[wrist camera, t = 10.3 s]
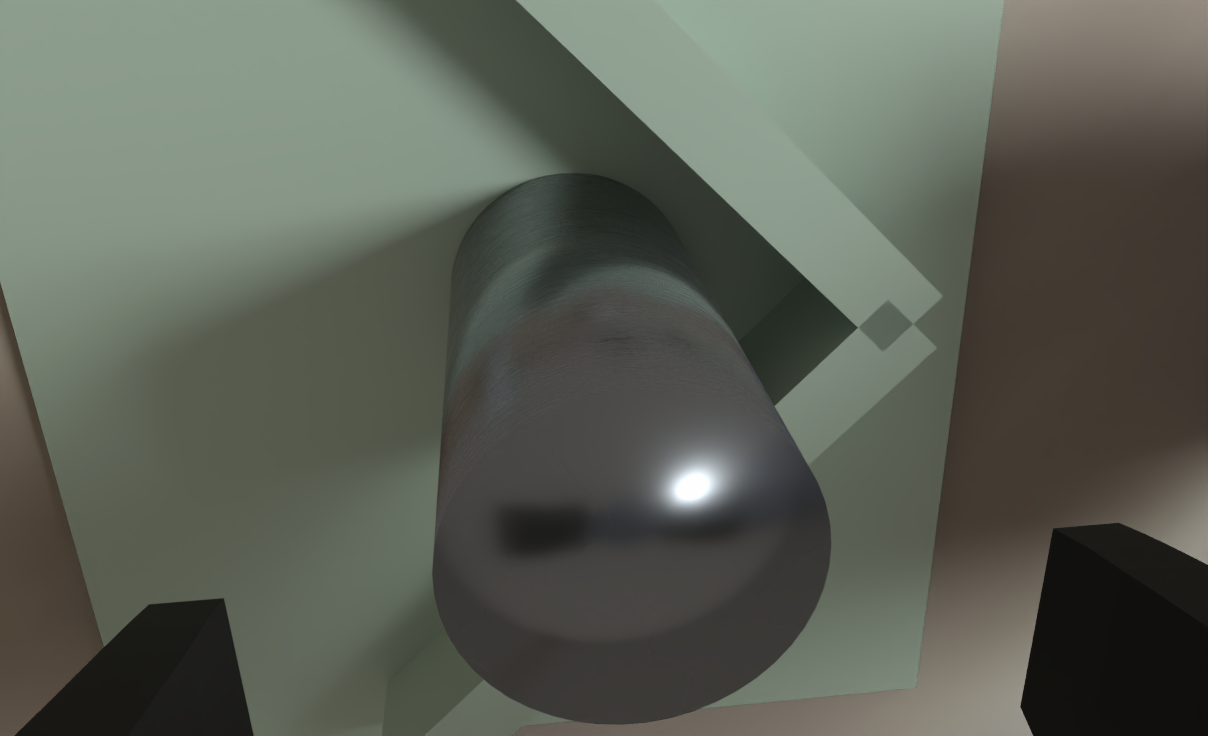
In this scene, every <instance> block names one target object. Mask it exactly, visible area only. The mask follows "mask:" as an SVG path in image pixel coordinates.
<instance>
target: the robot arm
mask: <svg viewBox="0 0 1208 736" xmlns="http://www.w3.org/2000/svg"><path fill="white" fill-rule="evenodd" d="M1021 709H1022V711H1023V714H1024V716H1025V718H1026V720H1027V723H1028V725H1029V727H1030V729H1031V732H1032V734H1033V736H1208V565H1207V564H1205V563H1203V562H1201V561H1199V560H1197V559H1195V558H1193V557H1191V556H1189V555H1187V554H1185V553H1183V552H1181V551H1179V550H1177V549H1175V548H1173V547H1171V546H1169V545H1167V544H1165V543H1163V542H1161V541H1158V540H1156V539H1154V538H1152V537H1150V536H1148V535H1146V534H1143V533H1141V532H1139V531H1136V530H1134V529H1132V528H1129V527H1127V526H1125V525H1122V524H1120V523H1113V524H1101V525H1089V526H1077V527H1065V528H1053V533H1052V538H1051V543H1050V549H1049V554H1048V560H1047V565H1046V571H1045V576H1044V582H1043V587H1042V592H1041V598H1040V603H1039V609H1038V614H1037V620H1036V625H1035V631H1034V636H1033V641H1032V647H1031V652H1030V658H1029V663H1028V669H1027V674H1026V679H1025V685H1024V690H1023V696H1022V701H1021ZM15 736H254V734H253V730H252V725H251V720H250V716H249V711H248V707H247V702H246V697H245V693H244V688H243V684H242V679H241V674H240V670H239V665H238V661H237V656H236V651H235V647H234V642H233V638H232V633H231V628H230V624H229V619H228V615H227V610H226V605H225V601H224V598H219V599H207V600H195V601H183V602H171V603H159V604H149V605H148V606H147V607H145V608H144V609H143V610H142V611H141V612H140V613H139V614H138V615H137V616H136V617H135V618H134V619H132V620H131V621H130V622H129V623H128V624H127V625H126V626H125V627H124V628H123V629H122V630H121V631H120V632H119V633H118V634H117V635H116V636H115V637H114V638H113V639H112V640H111V641H110V642H109V643H108V644H107V645H106V646H105V647H104V648H103V649H102V650H101V651H100V652H99V653H98V654H97V655H96V656H95V657H94V658H93V659H92V660H91V661H90V662H89V663H88V664H87V665H86V666H85V667H84V668H83V669H82V670H81V671H80V672H79V673H78V674H77V675H76V676H75V677H74V678H73V679H72V680H71V681H70V682H69V683H68V684H67V685H66V686H65V687H64V688H63V689H62V690H61V691H60V692H59V693H58V694H57V695H56V696H55V697H54V698H53V699H52V700H51V701H50V702H49V703H48V704H47V705H46V706H45V707H44V708H43V709H42V710H41V711H39V712H38V713H37V714H36V715H35V716H34V717H33V718H32V719H31V720H30V721H29V722H28V723H27V724H26V725H25V726H24V727H23V728H22V729H21V730H20V731H19V732H18V733H17V734H16V735H15Z"/></svg>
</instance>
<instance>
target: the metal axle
mask: <svg viewBox="0 0 1208 736" xmlns="http://www.w3.org/2000/svg"><path fill="white" fill-rule="evenodd" d="M830 555H831V528H830V520H829V515H828V511H827V506H826V502H825V499H824V497H823V494H822V492H821V489H820V487H819V484H818V482H817V480H816V478H815V476H814V475H813V473H812V471H811V469H810V468H809V466H808V464H807V462H806V461H805V459H804V457H803V455H802V453H801V452H800V450H799V448H798V446H797V445H796V443H795V441H794V439H793V438H792V436H791V434H790V432H789V431H788V429H787V427H786V425H785V424H784V422H783V420H782V418H781V417H780V415H779V413H778V411H777V410H776V408H775V406H774V404H773V402H772V401H771V399H770V397H769V395H768V394H767V392H766V390H765V388H764V387H763V385H762V383H761V381H760V380H759V378H758V376H757V374H756V373H755V371H754V369H753V367H752V366H751V364H750V362H749V360H748V358H747V357H746V355H745V353H744V351H743V350H742V348H741V346H740V344H739V343H738V341H737V339H736V337H735V336H734V334H733V332H732V330H731V329H730V327H729V325H728V323H727V322H726V320H725V318H724V316H723V314H722V313H721V311H720V309H719V307H718V306H717V304H716V302H715V300H714V299H713V297H712V295H711V293H710V292H709V290H708V288H707V286H706V285H705V283H704V281H703V279H702V278H701V276H700V274H699V272H698V271H697V269H696V267H695V265H694V263H693V262H692V260H691V258H690V256H689V255H688V253H687V251H686V249H685V248H684V246H683V244H682V242H681V241H680V239H679V237H678V235H677V234H676V232H675V230H674V228H673V227H672V225H671V223H670V222H669V221H668V219H667V218H666V217H665V215H664V214H663V213H662V212H661V210H660V209H659V208H657V207H656V206H655V205H654V204H653V203H652V202H651V201H650V200H649V199H648V198H646V197H645V196H644V195H642V194H641V193H639V192H638V191H637V190H635V189H633V188H631V187H629V186H627V185H625V184H623V183H621V182H618V181H616V180H613V179H610V178H607V177H603V176H598V175H594V174H585V173H558V174H552V175H546V176H542V177H539V178H535V179H532V180H529V181H526V182H524V183H522V184H520V185H518V186H515V187H513V188H512V189H510V190H508V191H507V192H505V193H504V194H502V195H500V196H499V197H498V198H496V199H495V200H494V201H493V202H492V203H490V204H489V205H488V206H487V207H486V208H485V209H484V210H483V211H482V212H481V213H480V214H479V215H478V216H477V218H476V219H475V220H474V222H473V223H472V225H471V226H470V227H469V229H468V230H467V232H466V234H465V236H464V238H463V240H462V242H461V243H460V246H459V249H458V251H457V254H456V257H455V261H454V266H453V270H452V280H451V295H450V310H449V325H448V340H447V355H446V371H445V386H444V401H443V416H442V431H441V446H440V461H439V477H438V492H437V507H436V522H435V537H434V552H433V568H432V578H433V588H434V597H435V601H436V605H437V608H438V612H439V616H440V619H441V621H442V623H443V625H444V628H445V630H446V632H447V635H448V637H449V638H450V640H451V641H452V643H453V645H454V646H455V648H456V649H457V651H458V652H459V654H460V655H461V657H462V658H463V659H464V660H465V661H466V662H467V663H468V665H469V666H470V667H471V668H472V669H473V670H474V671H475V672H476V673H477V674H478V675H479V676H480V677H481V678H483V679H484V680H485V681H486V682H487V683H488V684H490V685H491V686H492V687H494V688H495V689H497V690H498V691H500V692H501V693H503V694H504V695H506V696H507V697H509V698H510V699H512V700H515V701H517V702H519V703H521V704H523V705H525V706H527V707H529V708H531V709H534V710H537V711H539V712H542V713H545V714H548V715H551V716H554V717H559V718H563V719H567V720H572V721H577V722H586V723H594V724H633V723H645V722H651V721H656V720H662V719H667V718H672V717H675V716H679V715H682V714H685V713H689V712H692V711H695V710H698V709H700V708H703V707H705V706H707V705H710V704H712V703H715V702H717V701H719V700H721V699H723V698H725V697H727V696H728V695H730V694H732V693H734V692H736V691H738V690H739V689H741V688H742V687H744V686H745V685H747V684H748V683H750V682H751V681H753V680H754V679H756V678H757V677H758V676H760V675H761V674H762V673H763V672H764V671H766V670H767V669H768V668H769V667H770V666H772V665H773V664H774V663H775V662H776V661H777V660H778V659H779V658H780V657H781V656H782V655H783V654H784V653H785V652H786V651H787V650H788V648H789V647H790V646H791V645H792V644H793V643H794V641H795V640H796V639H797V637H798V636H799V635H800V633H801V632H802V630H803V629H804V628H805V626H806V624H807V623H808V621H809V619H810V617H811V616H812V614H813V612H814V610H815V609H816V606H817V604H818V601H819V599H820V596H821V594H822V592H823V589H824V586H825V582H826V578H827V574H828V570H829V565H830Z"/></svg>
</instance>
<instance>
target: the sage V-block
mask: <svg viewBox="0 0 1208 736" xmlns="http://www.w3.org/2000/svg"><path fill="white" fill-rule="evenodd" d="M1003 6H1004V0H0V283H1V287H2V290H3V294H4V297H5V301H6V304H7V308H8V311H9V315H10V318H11V322H12V325H13V329H14V332H15V336H16V340H17V343H18V347H19V350H20V354H21V357H22V361H23V364H24V368H25V371H26V375H27V378H28V382H29V385H30V389H31V392H32V396H33V399H34V403H35V407H36V410H37V414H38V417H39V421H40V424H41V428H42V431H43V435H44V438H45V442H46V445H47V449H48V452H49V456H50V459H51V463H52V467H53V470H54V474H55V477H56V481H57V484H58V488H59V491H60V495H61V498H62V502H63V505H64V509H65V512H66V516H67V519H68V523H69V527H70V530H71V534H72V537H73V541H74V544H75V548H76V551H77V555H78V558H79V562H80V565H81V569H82V572H83V576H84V579H85V583H86V587H87V590H88V594H89V597H90V601H91V604H92V608H93V611H94V615H95V618H96V622H97V625H98V629H99V632H100V636H101V639H102V643H103V647H105V646H106V645H107V644H108V643H109V642H110V641H111V640H112V639H113V638H114V637H115V636H116V635H117V634H118V633H119V632H120V631H121V630H122V629H123V628H124V627H125V626H126V625H127V624H128V623H129V622H130V621H131V620H132V619H134V618H135V617H136V616H137V615H138V614H139V613H140V612H141V611H142V610H143V609H144V608H145V607H147V606H148V605H149V604H159V603H171V602H183V601H195V600H207V599H219V598H224V601H225V605H226V610H227V615H228V619H229V624H230V628H231V633H232V638H233V642H234V647H235V651H236V656H237V661H238V665H239V670H240V674H241V679H242V684H243V688H244V693H245V697H246V702H247V707H248V711H249V716H250V720H251V725H252V730H253V734H254V736H512V735H513V734H515V733H516V732H517V731H518V730H519V729H520V728H521V727H522V726H528V725H538V724H549V723H559V722H569V721H572V720H567V719H563V718H559V717H554V716H551V715H548V714H545V713H542V712H539V711H537V710H534V709H531V708H529V707H527V706H525V705H523V704H521V703H519V702H517V701H515V700H512V699H510V698H509V697H507V696H506V695H504V694H503V693H501V692H500V691H498V690H497V689H495V688H494V687H492V686H491V685H490V684H488V683H487V682H486V681H485V680H484V679H483V678H481V677H480V676H479V675H478V674H477V673H476V672H475V671H474V670H473V669H472V668H471V667H470V666H469V665H468V663H467V662H466V661H465V660H464V659H463V658H462V657H461V655H460V654H459V652H458V651H457V649H456V648H455V646H454V645H453V643H452V641H451V640H450V638H449V637H448V635H447V632H446V630H445V628H444V625H443V623H442V621H441V619H440V616H439V612H438V608H437V605H436V601H435V597H434V588H433V578H432V568H433V552H434V537H435V522H436V507H437V492H438V477H439V461H440V446H441V431H442V416H443V401H444V386H445V371H446V355H447V340H448V325H449V310H450V295H451V280H452V270H453V266H454V261H455V257H456V254H457V251H458V249H459V246H460V243H461V242H462V240H463V238H464V236H465V234H466V232H467V230H468V229H469V227H470V226H471V225H472V223H473V222H474V220H475V219H476V218H477V216H478V215H479V214H480V213H481V212H482V211H483V210H484V209H485V208H486V207H487V206H488V205H489V204H490V203H492V202H493V201H494V200H495V199H496V198H498V197H499V196H500V195H502V194H504V193H505V192H507V191H508V190H510V189H512V188H513V187H515V186H518V185H520V184H522V183H524V182H526V181H529V180H532V179H535V178H539V177H542V176H546V175H552V174H558V173H585V174H594V175H598V176H603V177H607V178H610V179H613V180H616V181H618V182H621V183H623V184H625V185H627V186H629V187H631V188H633V189H635V190H637V191H638V192H639V193H641V194H642V195H644V196H645V197H646V198H648V199H649V200H650V201H651V202H652V203H653V204H654V205H655V206H656V207H657V208H659V209H660V210H661V212H662V213H663V214H664V215H665V217H666V218H667V219H668V221H669V222H670V223H671V225H672V227H673V228H674V230H675V232H676V234H677V235H678V237H679V239H680V241H681V242H682V244H683V246H684V248H685V249H686V251H687V253H688V255H689V256H690V258H691V260H692V262H693V263H694V265H695V267H696V269H697V271H698V272H699V274H700V276H701V278H702V279H703V281H704V283H705V285H706V286H707V288H708V290H709V292H710V293H711V295H712V297H713V299H714V300H715V302H716V304H717V306H718V307H719V309H720V311H721V313H722V314H723V316H724V318H725V320H726V322H727V323H728V325H729V327H730V329H731V330H732V332H733V334H734V336H735V337H736V339H737V341H738V343H739V344H740V346H741V348H742V350H743V351H744V353H745V355H746V357H747V358H748V360H749V362H750V364H751V366H752V367H753V369H754V371H755V373H756V374H757V376H758V378H759V380H760V381H761V383H762V385H763V387H764V388H765V390H766V392H767V394H768V395H769V397H770V399H771V401H772V402H773V404H774V406H775V408H776V410H777V411H778V413H779V415H780V417H781V418H782V420H783V422H784V424H785V425H786V427H787V429H788V431H789V432H790V434H791V436H792V438H793V439H794V441H795V443H796V445H797V446H798V448H799V450H800V452H801V453H802V455H803V457H804V459H805V461H806V462H807V464H808V466H809V468H810V469H811V471H812V473H813V475H814V476H815V478H816V480H817V482H818V484H819V487H820V489H821V492H822V494H823V497H824V499H825V502H826V506H827V511H828V515H829V520H830V528H831V555H830V565H829V570H828V574H827V578H826V582H825V586H824V589H823V592H822V594H821V596H820V599H819V601H818V604H817V606H816V609H815V610H814V612H813V614H812V616H811V617H810V619H809V621H808V623H807V624H806V626H805V628H804V629H803V630H802V632H801V633H800V635H799V636H798V637H797V639H796V640H795V641H794V643H793V644H792V645H791V646H790V647H789V648H788V650H787V651H786V652H785V653H784V654H783V655H782V656H781V657H780V658H779V659H778V660H777V661H776V662H775V663H774V664H773V665H772V666H770V667H769V668H768V669H767V670H766V671H764V672H763V673H762V674H761V675H760V676H758V677H757V678H756V679H754V680H753V681H751V682H750V683H748V684H747V685H745V686H744V687H742V688H741V689H739V690H738V691H736V692H734V693H732V694H730V695H728V696H727V697H725V698H723V699H721V700H719V701H717V702H715V703H712V704H710V705H707V706H705V707H703V708H714V707H724V706H734V705H745V704H755V703H765V702H775V701H786V700H796V699H806V698H817V697H827V696H837V695H848V694H858V693H868V692H878V691H889V690H899V689H909V688H916V684H917V676H918V669H919V661H920V653H921V645H922V638H923V630H924V622H925V614H926V606H927V599H928V591H929V583H930V575H931V567H932V560H933V552H934V544H935V536H936V528H937V521H938V513H939V505H940V497H941V489H942V482H943V474H944V466H945V458H946V450H947V443H948V435H949V427H950V419H951V411H952V404H953V396H954V388H955V380H956V372H957V365H958V357H959V349H960V341H961V334H962V326H963V318H964V310H965V302H966V295H967V287H968V279H969V271H970V263H971V256H972V248H973V240H974V232H975V224H976V217H977V209H978V201H979V193H980V185H981V178H982V170H983V162H984V154H985V146H986V139H987V131H988V123H989V115H990V107H991V100H992V92H993V84H994V76H995V68H996V61H997V53H998V45H999V37H1000V30H1001V22H1002V14H1003ZM703 708H700V709H703Z"/></svg>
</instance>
